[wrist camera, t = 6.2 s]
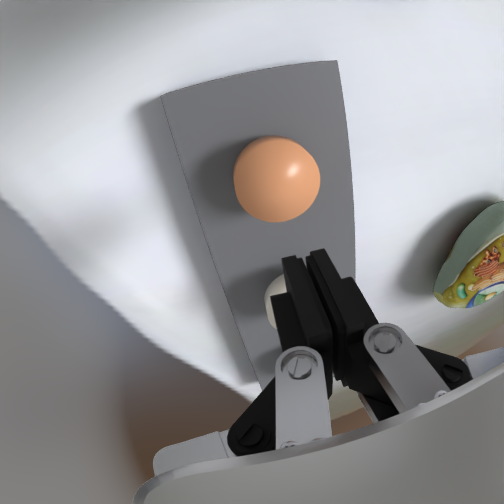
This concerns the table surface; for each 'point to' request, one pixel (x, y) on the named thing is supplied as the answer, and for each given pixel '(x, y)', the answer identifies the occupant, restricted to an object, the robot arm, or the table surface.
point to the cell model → (474, 262)
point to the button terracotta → (275, 179)
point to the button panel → (223, 190)
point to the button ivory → (274, 289)
